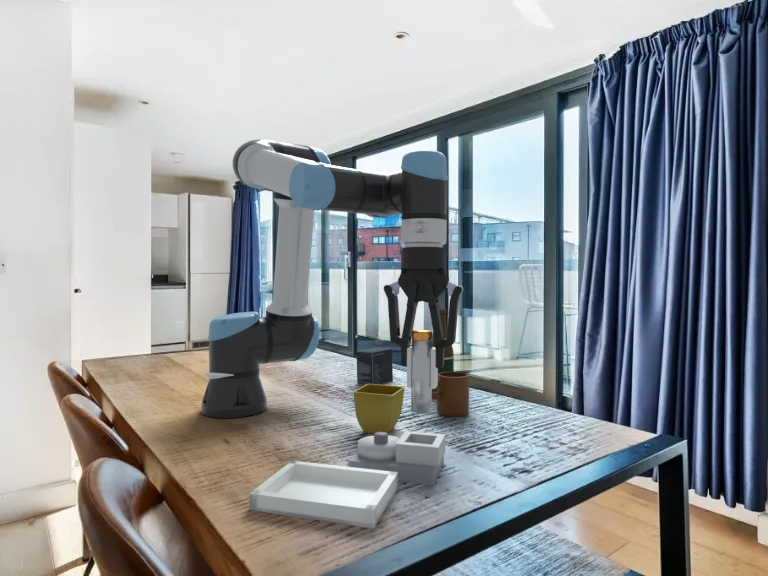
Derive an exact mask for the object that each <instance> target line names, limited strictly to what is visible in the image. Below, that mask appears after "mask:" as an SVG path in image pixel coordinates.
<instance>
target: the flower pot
mask: <svg viewBox="0 0 768 576" xmlns="http://www.w3.org/2000/svg"><path fill="white" fill-rule="evenodd" d="M405 389H406V388H405V386H400V385H399V386H398V385H388V384H380V385H379V384H366V385H361V387H359V388H357V389H355V390H354V391H353V392H352V393H353V402H354V411H355V417H356V420H357V423H358V425H359V426H360V428H361V429H362V431H363V432H364V433H369V434H374V433H377V432H385V433H388V434H389V433H390V432H391V431H393V429H395V427H396V425H397V424H398V422H399V418H400V416H401V413H402V409H403V403H404V394H405Z"/></svg>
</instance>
